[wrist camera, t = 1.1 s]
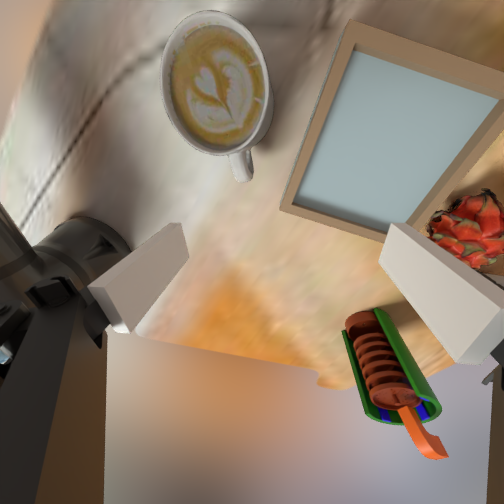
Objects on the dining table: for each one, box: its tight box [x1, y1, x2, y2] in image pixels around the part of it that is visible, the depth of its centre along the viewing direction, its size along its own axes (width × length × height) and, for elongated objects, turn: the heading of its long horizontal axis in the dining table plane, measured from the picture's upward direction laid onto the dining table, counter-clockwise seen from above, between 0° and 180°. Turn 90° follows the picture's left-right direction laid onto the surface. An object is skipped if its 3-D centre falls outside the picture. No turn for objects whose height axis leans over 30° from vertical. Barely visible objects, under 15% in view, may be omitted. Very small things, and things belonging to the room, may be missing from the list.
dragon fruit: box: [426, 188, 504, 270], centre depth 26 cm, size 8×8×12 cm
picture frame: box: [280, 19, 504, 243], centre depth 24 cm, size 18×18×6 cm
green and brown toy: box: [342, 308, 449, 460], centre depth 33 cm, size 10×9×20 cm
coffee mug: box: [160, 10, 274, 183], centre depth 22 cm, size 13×10×10 cm
